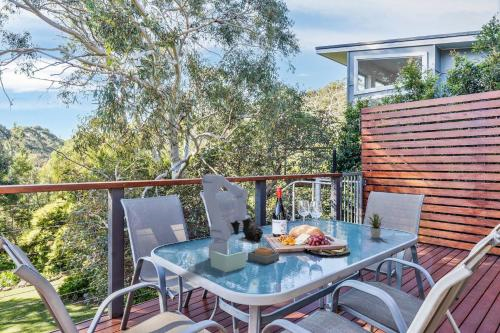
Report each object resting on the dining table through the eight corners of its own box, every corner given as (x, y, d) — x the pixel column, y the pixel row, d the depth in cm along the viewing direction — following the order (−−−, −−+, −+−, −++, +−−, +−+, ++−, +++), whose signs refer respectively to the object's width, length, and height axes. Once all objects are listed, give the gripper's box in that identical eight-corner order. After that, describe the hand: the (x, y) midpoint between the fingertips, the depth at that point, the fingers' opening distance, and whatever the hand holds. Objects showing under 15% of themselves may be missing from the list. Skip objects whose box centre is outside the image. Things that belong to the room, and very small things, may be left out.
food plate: (295, 249, 198) (295, 243, 198) (321, 243, 213) (322, 237, 213) (331, 261, 179) (332, 254, 179) (357, 253, 194) (358, 247, 194)
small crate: (265, 261, 176) (265, 251, 175) (254, 258, 180) (254, 248, 180) (271, 258, 179) (271, 249, 179) (261, 256, 184) (261, 246, 184)
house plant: (360, 234, 239) (360, 210, 238) (381, 234, 238) (381, 210, 238) (366, 239, 225) (366, 213, 224) (388, 239, 224) (388, 213, 224)
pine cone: (255, 242, 215) (255, 226, 214) (239, 237, 229) (239, 222, 229) (269, 240, 221) (269, 224, 221) (252, 235, 235) (252, 220, 235)
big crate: (266, 264, 172) (266, 257, 172) (247, 259, 180) (247, 252, 180) (279, 259, 180) (279, 252, 180) (260, 255, 188) (260, 248, 188)
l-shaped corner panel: (246, 266, 168) (246, 251, 168) (226, 272, 160) (226, 256, 160) (230, 261, 177) (230, 246, 177) (210, 266, 169) (210, 250, 169)
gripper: (237, 211, 189) (237, 236, 190) (255, 208, 200) (254, 232, 201) (228, 210, 194) (228, 234, 194) (245, 207, 205) (245, 230, 205)
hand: (241, 233), depth 198 cm, fingers open, 7 cm apart
